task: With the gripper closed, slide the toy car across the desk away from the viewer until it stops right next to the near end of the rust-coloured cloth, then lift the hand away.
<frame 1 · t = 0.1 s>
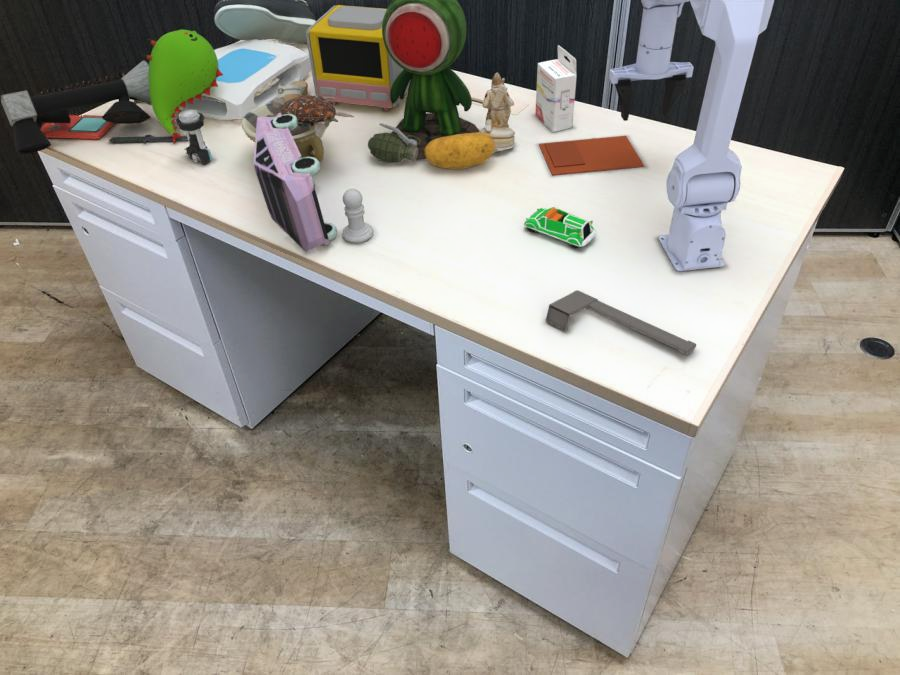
hand: (644, 116, 141), 10 cm above the table, tool pointing down, fingers open, 7 cm apart
toy 2: (346, 135, 146), point 7 cm above the table, touching bowl
boat shoe: (272, 29, 186), point 7 cm above the table, touching document scanner
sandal: (288, 106, 172), on the table
grenade: (368, 137, 151), point 4 cm above the table
toy car 2: (318, 174, 134), point 8 cm above the table
wooden plank: (167, 77, 174), point 4 cm above the table, touching document scanner
rust cloth: (590, 155, 151), on the table
alarm clock: (368, 97, 174), on the table
toilet paper hanger: (616, 341, 113), on the table
chess piece: (358, 235, 134), on the table
figurine 2: (432, 138, 159), on the table
document scanner: (243, 91, 178), on the table, touching boat shoe, toy, wooden plank
toy car: (559, 235, 132), on the table
figurine: (497, 146, 155), on the table
telephone: (152, 94, 168), point 4 cm above the table, touching handheld gaming console, toy
knife: (150, 142, 160), on the table, touching toy
potato: (462, 166, 150), on the table
ink cartridge box: (553, 122, 162), on the table
push button: (199, 159, 156), on the table
bowl: (295, 160, 154), on the table, touching toy 2
handheld gaming console: (43, 124, 167), point 1 cm above the table, touching telephone
toy: (145, 77, 159), point 11 cm above the table, touching document scanner, knife, telephone
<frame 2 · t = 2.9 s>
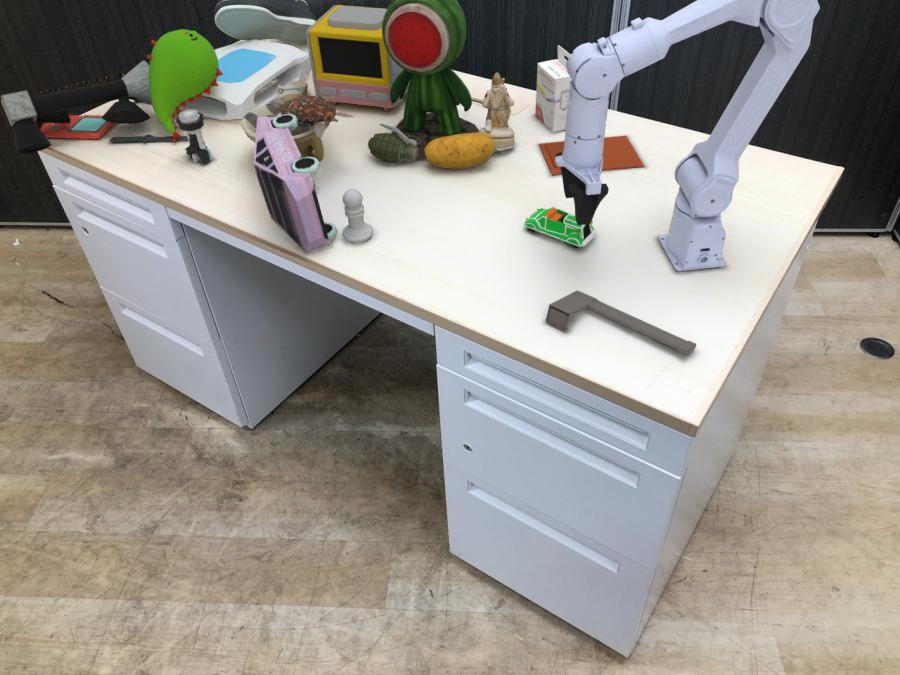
hand: (577, 209, 121), 9 cm above the table, tool pointing down, fingers open, 7 cm apart
telephone: (152, 94, 168), point 4 cm above the table, touching handheld gaming console
toy: (145, 77, 159), point 11 cm above the table, touching document scanner, knife
everything else where it was.
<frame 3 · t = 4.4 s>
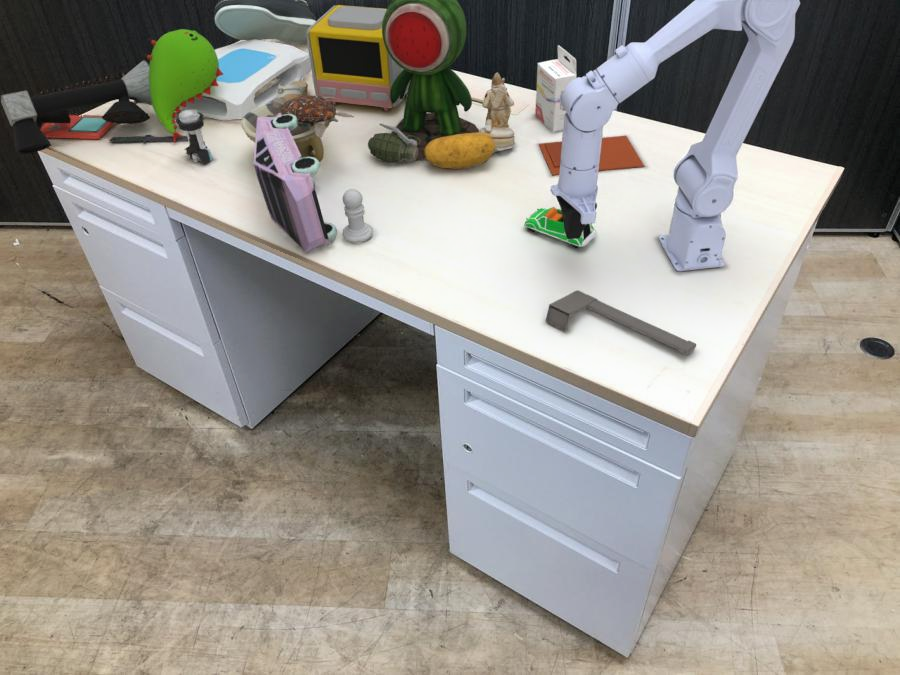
hand: (572, 236, 123), 5 cm above the table, tool pointing down, fingers closed
nothing on the table moved.
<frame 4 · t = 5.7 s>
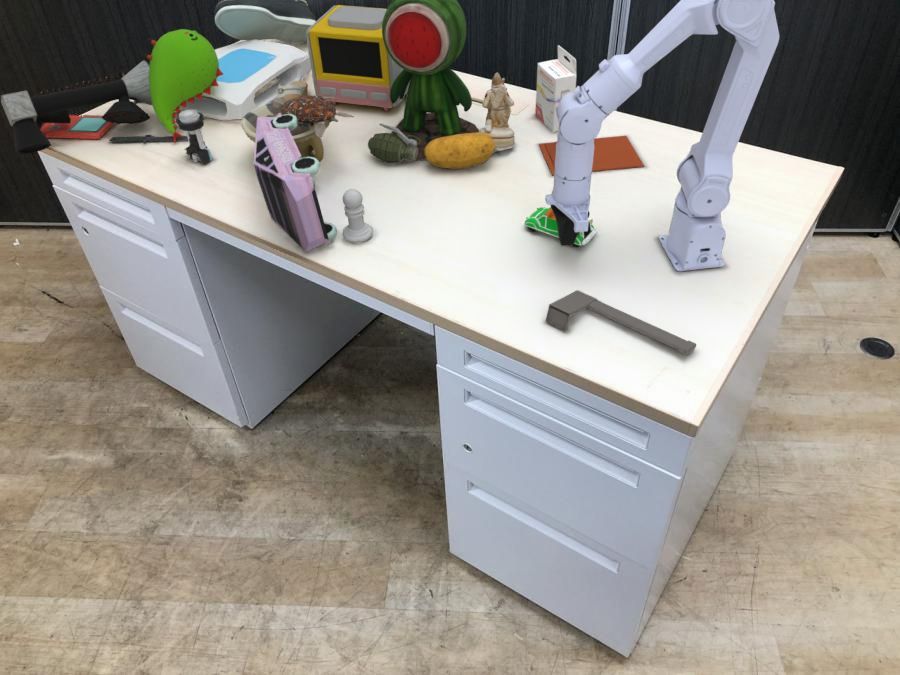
hand: (566, 243, 127), 2 cm above the table, tool pointing down, fingers closed
toy car: (559, 234, 133), on the table, touching gripper
everything else where it was.
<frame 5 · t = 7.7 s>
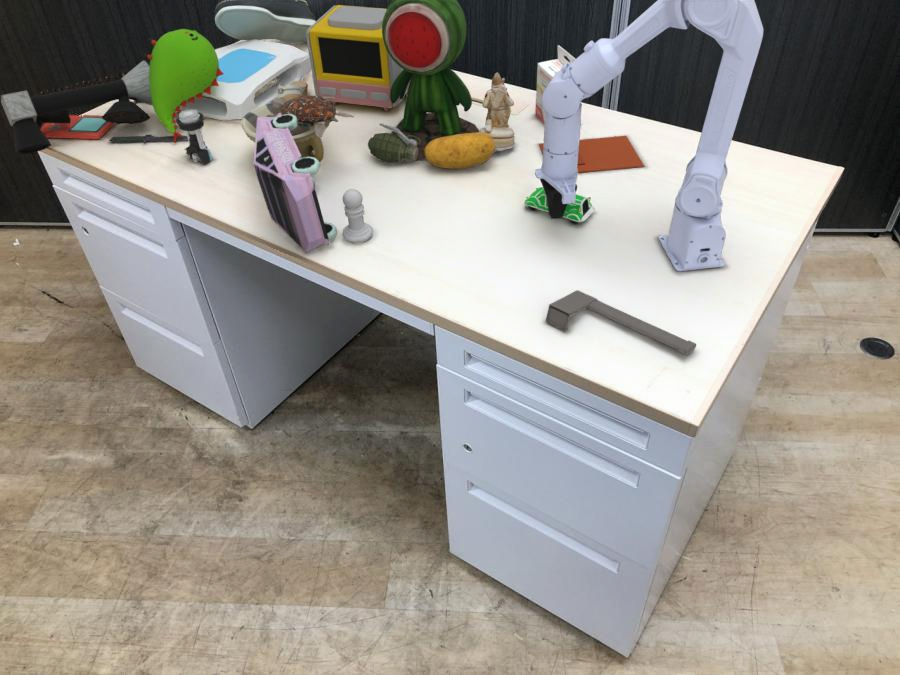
hand: (555, 216, 133), 2 cm above the table, tool pointing down, fingers closed
toy car: (558, 212, 137), on the table, touching gripper
everything else where it was.
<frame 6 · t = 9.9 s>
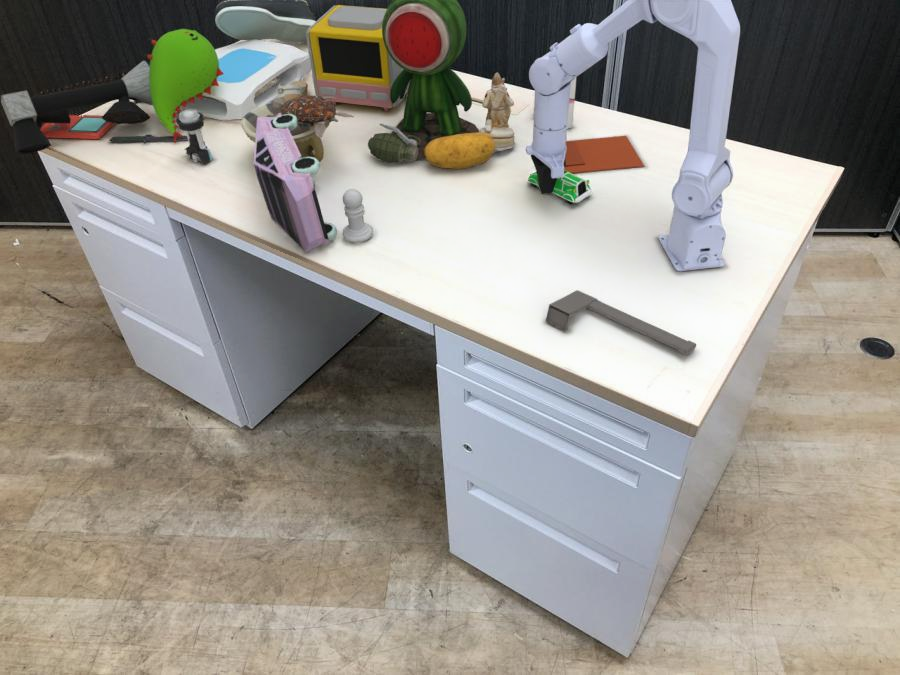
hand: (546, 192, 139), 2 cm above the table, tool pointing down, fingers closed
toy car: (559, 192, 142), on the table, touching gripper
everything else where it was.
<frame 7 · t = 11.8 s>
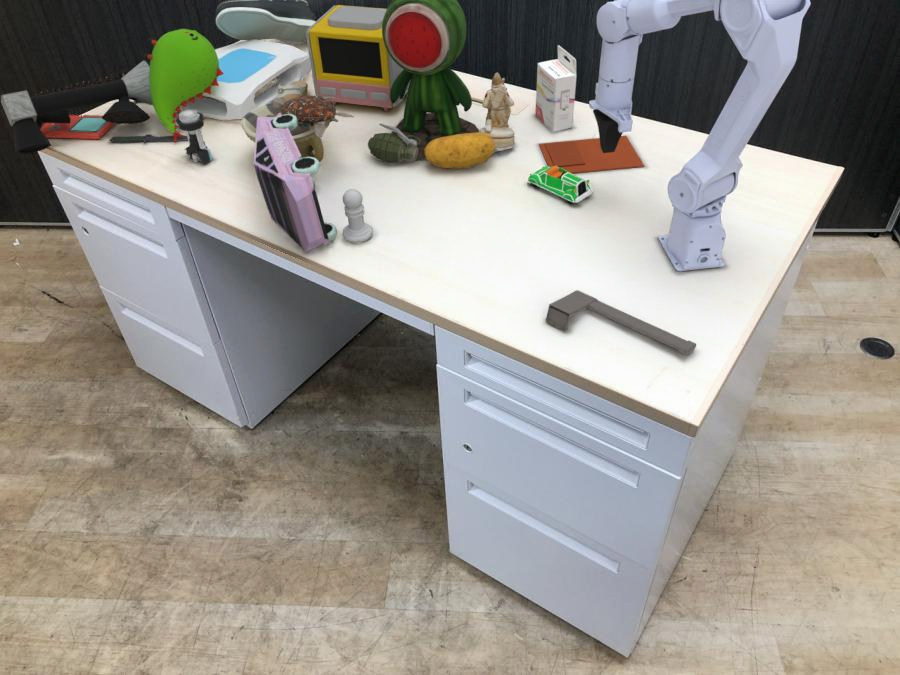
hand: (607, 150, 134), 9 cm above the table, tool pointing down, fingers closed
document scanner: (243, 91, 178), on the table, touching boat shoe, wooden plank
toy car: (559, 192, 142), on the table
toy: (146, 77, 159), point 11 cm above the table, touching knife
everything else where it was.
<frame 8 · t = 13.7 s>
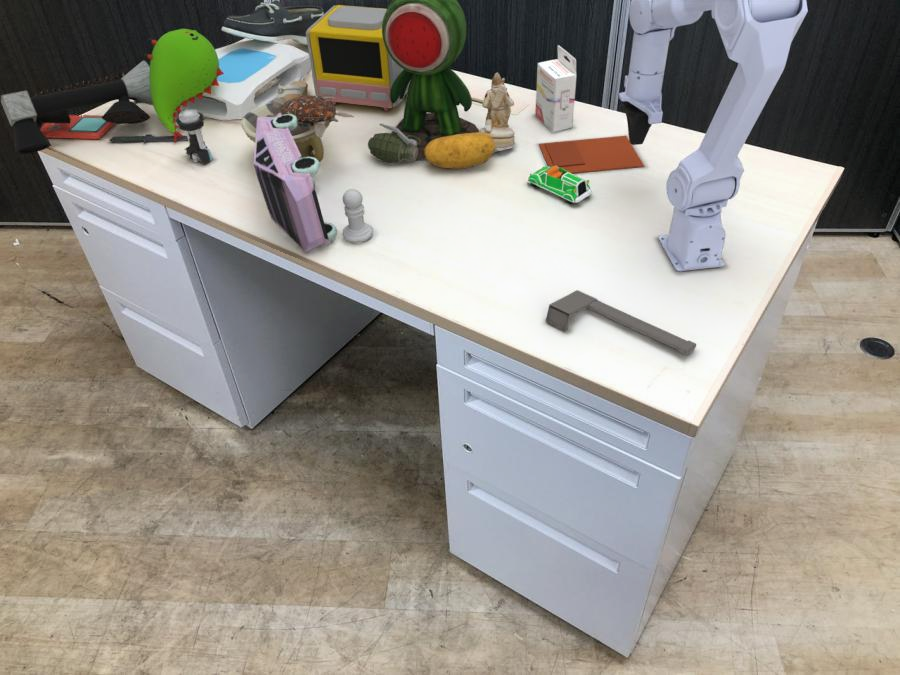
hand: (636, 142, 136), 9 cm above the table, tool pointing down, fingers closed
boat shoe: (274, 41, 186), point 5 cm above the table, touching document scanner
document scanner: (243, 91, 178), on the table, touching boat shoe, toy, wooden plank
toy: (146, 76, 159), point 11 cm above the table, touching document scanner, knife
everything else where it was.
at the end: toy car inside the target area on the table beside the rust cloth (1.4 cm from its centre), on the table; toy car moved 13.7 cm from its start; toy car tilted 0° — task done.
